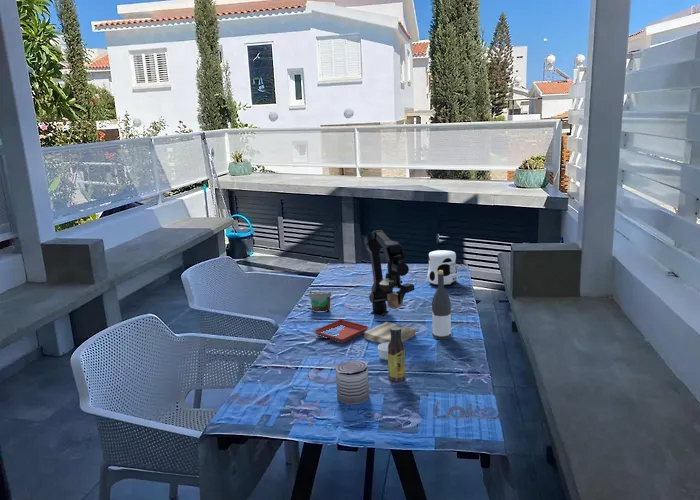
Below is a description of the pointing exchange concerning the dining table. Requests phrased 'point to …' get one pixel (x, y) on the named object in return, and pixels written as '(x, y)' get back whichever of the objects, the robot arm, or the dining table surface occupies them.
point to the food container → (320, 301)
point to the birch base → (387, 333)
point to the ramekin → (383, 350)
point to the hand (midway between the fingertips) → (395, 303)
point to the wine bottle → (441, 311)
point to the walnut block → (393, 300)
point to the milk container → (442, 267)
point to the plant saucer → (346, 334)
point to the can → (352, 382)
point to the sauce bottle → (396, 356)
